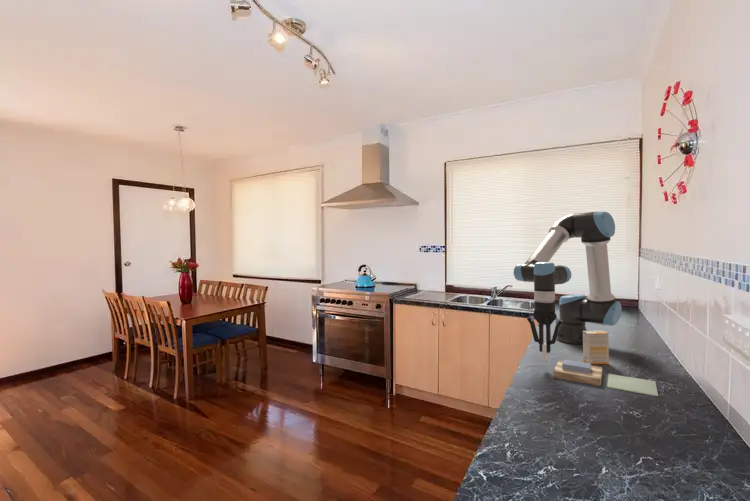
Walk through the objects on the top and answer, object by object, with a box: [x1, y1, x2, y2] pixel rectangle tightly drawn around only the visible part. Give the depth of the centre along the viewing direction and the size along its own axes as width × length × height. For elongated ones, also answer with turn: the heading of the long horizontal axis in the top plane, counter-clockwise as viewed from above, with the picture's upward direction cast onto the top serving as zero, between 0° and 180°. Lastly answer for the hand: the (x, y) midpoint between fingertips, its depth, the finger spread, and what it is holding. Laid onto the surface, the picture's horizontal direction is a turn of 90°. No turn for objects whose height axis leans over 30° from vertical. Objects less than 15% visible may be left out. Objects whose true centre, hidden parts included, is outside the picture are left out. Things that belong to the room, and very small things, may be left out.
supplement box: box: [582, 330, 610, 365], centre depth 149 cm, size 8×5×13 cm, turn 84°
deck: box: [552, 360, 603, 387], centre depth 136 cm, size 14×15×2 cm
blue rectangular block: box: [562, 359, 592, 374], centre depth 136 cm, size 9×6×2 cm, turn 55°
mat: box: [606, 373, 659, 398], centre depth 126 cm, size 14×14×1 cm
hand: (545, 360), depth 142 cm, fingers closed
